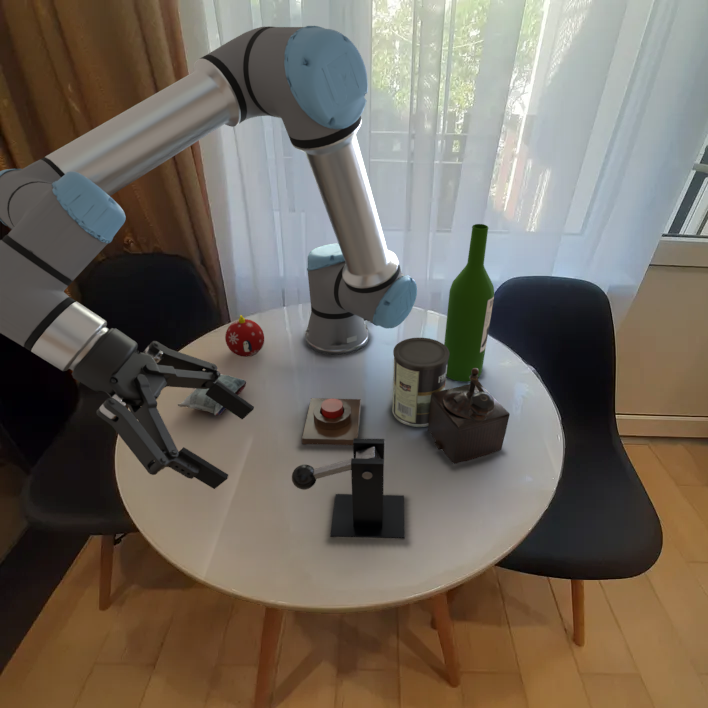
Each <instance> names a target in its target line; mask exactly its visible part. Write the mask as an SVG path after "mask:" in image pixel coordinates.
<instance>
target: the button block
mask: <svg viewBox="0 0 708 708" xmlns="http://www.w3.org/2000/svg"><path fill="white" fill-rule="evenodd" d="M327 399H328V398H326V397H325V398H323V397H322V398H320V397H312V398H310V400H309V405H308V409H307V413H306V418H305V422H304V426H303V431H302V436H301V444H302V445H316V446H318V445H319V446H322V445H323V446H353V439H354V438H359V430H360V425H361V413H362V399H361V398H337V399H338V400H340V401H341V402H342V403H343V414H342V415H341V416H340V417H337V418H334V419H333V418H326V417H324V416H323V415H322V410H321V404H322V402H323V401H325V400H327Z"/></svg>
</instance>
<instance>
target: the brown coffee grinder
mask: <svg viewBox="0 0 708 708" xmlns="http://www.w3.org/2000/svg"><path fill="white" fill-rule="evenodd" d="M471 373H472V374H471V375H470V377H469V378H470V380H471V381H470V383H469V384H464V385H459V386H455V387H450V388H448V389H445V390H442V391H438V392H434V393H432V394H431V401H430V412H429V423H428V426H427V430H426V431H427V432H429V434H430V436H431V437H432V438H433V439H434V442H433V445H434V446H435V448H436V450H441V451H442V452H443V453H444V454H445V456H446V457H447V458H448V460H450V462H451V463H452V464H453V465H458V464H461V463H465V462H469V461H473V460H476V459H480V458H482V457H486V456H489V455H492V454H494V453H496V452H499V451H501V450H502V449H503V445H504V440H505V437H506V432H507V428H508V424H509V420H510V413H509V411H508V410H507V409H506V408H505V407H504V406H503V405H502V404H501V403H500V402H499V401H498V400H497V399H496V398H495V397H494V396H493V395H492V393H490V391H488V390H487V389H486V387H485V386H484V385H483V384H482V383H481V382H480V381H479V377H478V373H479V370H478V368H473V369H472V370H471Z"/></svg>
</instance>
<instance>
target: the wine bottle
mask: <svg viewBox="0 0 708 708" xmlns="http://www.w3.org/2000/svg"><path fill="white" fill-rule="evenodd" d="M489 229H490V228H489V226H488V225H486V224H483V223H475V224H473V225H472V226H471V235H470V243H469V250H468V256H467V263H466V265H465V266H464V267H463V269H461V271H460V273H458V275H456V276H455V278H454V280H453V281H452V283H451V285H450V288H449V292H448V303H447V313H446V323H445V332H444V341H443V342H444V343H443V344H444V345H445V346H446V347H447V348H448V350H449V359H448V365H447V374H446V378H447V379H450V380H452V381H456V382H461V383H465V382H466V383H468V382H471V380H470V378H469V377H470V375H471V374H472V373H471V370H472V369H473V368H478V370H479V373H478V378H479V377H481V375H482V373H483V367H484V361H485V356H486V355H485V354H486V349H487V348H486V347H487V343H488V336H489V332H490V331H489V330H490V324H491V318H492V313H493V305H494V299H495V286H494V283H493V282H492V280H491V278H490V275H489V274H488V271H487V269H486V267H485V257H486V249H487V241H488V235H489V234H488V233H489Z"/></svg>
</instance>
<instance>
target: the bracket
mask: <svg viewBox="0 0 708 708" xmlns="http://www.w3.org/2000/svg"><path fill="white" fill-rule="evenodd" d="M374 446H375V448H376V450H377V452H378V454H379V456H380V457H381V459H364V458H356V451H359V450H363V449H367V448H370V447H374ZM352 454H353V456H352V458H351V470H350V474H351V493H335V496H334V505H333V512H332V519H331V528H330V534H329V536H330V537H331V538H358V539H359V538H360V539H361V538H363V539H364V538H365V539H405V537H406V535H405V496H404V495H401V494H400V495H399V494H397V495H396V494H393V495H392V494H384V484H385V483H384V479H385V438H364V437H363V438H362V437H361V438H359V437H358V438H354V439H353V445H352Z"/></svg>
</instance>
